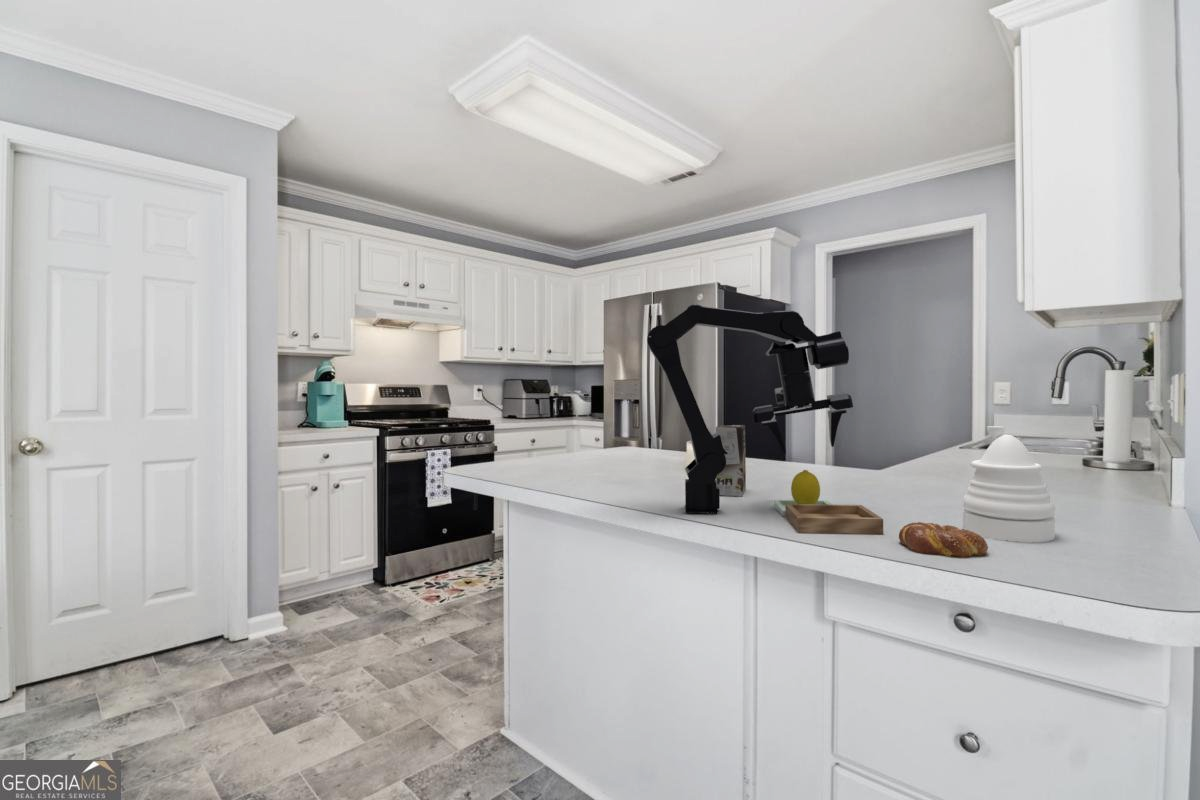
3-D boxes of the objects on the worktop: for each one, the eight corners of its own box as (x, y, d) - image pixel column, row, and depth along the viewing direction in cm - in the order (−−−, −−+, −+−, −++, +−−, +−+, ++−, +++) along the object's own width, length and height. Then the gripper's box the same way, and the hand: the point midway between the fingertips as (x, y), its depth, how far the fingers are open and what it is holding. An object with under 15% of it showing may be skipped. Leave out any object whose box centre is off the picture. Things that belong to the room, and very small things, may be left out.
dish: (782, 516, 114) (782, 510, 114) (773, 505, 125) (773, 499, 125) (841, 517, 113) (841, 511, 113) (827, 506, 124) (827, 500, 124)
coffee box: (743, 497, 135) (742, 426, 135) (715, 495, 137) (714, 426, 137) (746, 490, 144) (746, 424, 143) (720, 489, 146) (719, 424, 146)
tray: (798, 532, 102) (798, 517, 102) (785, 517, 114) (785, 504, 114) (883, 534, 100) (883, 519, 100) (861, 518, 112) (861, 504, 112)
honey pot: (945, 528, 104) (945, 426, 103) (993, 521, 109) (993, 423, 108) (1023, 546, 92) (1023, 431, 91) (1072, 537, 97) (1072, 428, 96)
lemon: (822, 512, 116) (822, 472, 116) (793, 511, 117) (792, 471, 117) (817, 506, 121) (817, 468, 121) (789, 506, 122) (789, 467, 122)
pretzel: (995, 549, 91) (995, 526, 91) (978, 565, 83) (978, 539, 83) (911, 536, 99) (911, 514, 99) (888, 549, 92) (888, 526, 92)
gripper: (838, 365, 124) (851, 438, 124) (748, 381, 129) (760, 451, 129) (846, 365, 113) (860, 444, 113) (747, 382, 118) (761, 458, 118)
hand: (808, 449), depth 119 cm, fingers open, 9 cm apart
